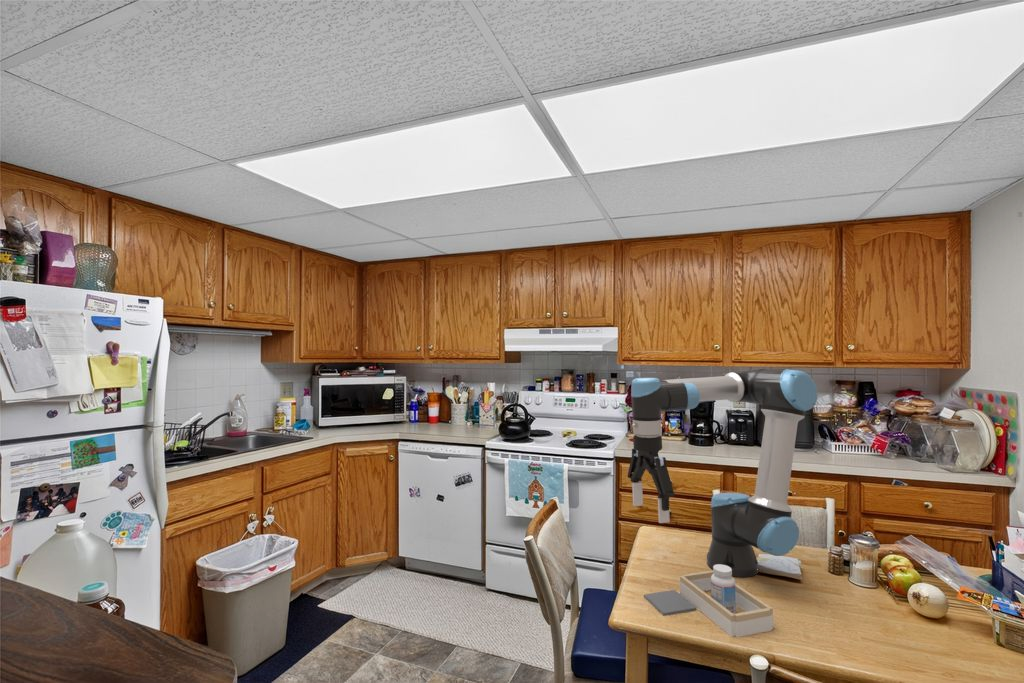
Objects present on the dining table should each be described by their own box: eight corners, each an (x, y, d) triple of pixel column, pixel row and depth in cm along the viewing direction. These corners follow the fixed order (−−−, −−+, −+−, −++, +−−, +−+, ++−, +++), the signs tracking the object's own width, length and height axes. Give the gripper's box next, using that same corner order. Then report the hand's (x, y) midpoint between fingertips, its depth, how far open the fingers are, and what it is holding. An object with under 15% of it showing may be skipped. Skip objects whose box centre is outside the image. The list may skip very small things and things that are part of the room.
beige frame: (715, 586, 139) (715, 569, 139) (775, 629, 118) (774, 609, 118) (678, 592, 136) (678, 575, 136) (733, 638, 115) (732, 617, 115)
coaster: (674, 591, 137) (674, 589, 137) (696, 609, 127) (696, 607, 127) (643, 596, 134) (643, 594, 134) (663, 615, 125) (663, 613, 125)
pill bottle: (734, 606, 129) (733, 564, 129) (737, 618, 123) (736, 574, 123) (710, 602, 131) (709, 561, 131) (712, 614, 125) (711, 571, 125)
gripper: (614, 428, 139) (616, 500, 139) (659, 444, 115) (663, 532, 115) (637, 426, 141) (640, 498, 141) (686, 442, 117) (690, 528, 117)
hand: (650, 513), depth 128 cm, fingers open, 13 cm apart
